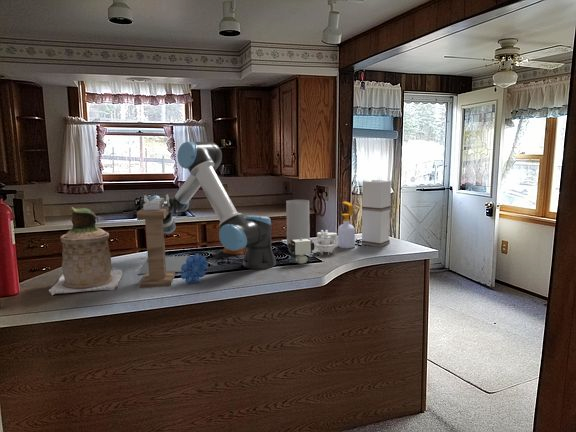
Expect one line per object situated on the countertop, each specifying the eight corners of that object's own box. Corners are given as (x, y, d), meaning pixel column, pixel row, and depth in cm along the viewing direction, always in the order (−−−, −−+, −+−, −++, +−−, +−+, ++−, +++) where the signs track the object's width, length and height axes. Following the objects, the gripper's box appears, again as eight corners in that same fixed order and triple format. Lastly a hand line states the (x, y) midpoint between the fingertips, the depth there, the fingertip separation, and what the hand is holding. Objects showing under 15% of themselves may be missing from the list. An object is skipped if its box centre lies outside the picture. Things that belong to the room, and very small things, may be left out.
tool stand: (170, 285, 168) (166, 211, 163) (139, 287, 166) (133, 212, 161) (175, 274, 183) (171, 205, 179) (146, 275, 182) (141, 207, 177)
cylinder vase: (282, 246, 231) (281, 201, 227) (295, 242, 241) (294, 199, 237) (301, 249, 224) (301, 203, 220) (313, 245, 234) (313, 200, 230)
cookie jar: (118, 290, 164) (111, 208, 159) (47, 297, 157) (38, 212, 152) (123, 272, 187) (117, 201, 182) (62, 278, 180) (54, 204, 175)
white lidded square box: (389, 243, 235) (390, 180, 229) (380, 246, 227) (381, 182, 221) (371, 240, 242) (372, 180, 236) (361, 244, 234) (362, 181, 229)
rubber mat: (184, 272, 186) (184, 271, 186) (137, 275, 183) (137, 273, 183) (189, 256, 213) (189, 255, 213) (148, 258, 210) (148, 257, 210)
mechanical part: (313, 255, 210) (313, 232, 208) (316, 250, 222) (315, 228, 220) (336, 256, 208) (336, 233, 206) (337, 250, 220) (337, 228, 218)
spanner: (159, 210, 166) (159, 204, 166) (143, 210, 165) (143, 204, 165) (166, 203, 188) (166, 197, 188) (152, 203, 187) (152, 198, 187)
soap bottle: (342, 244, 235) (343, 200, 231) (357, 245, 230) (358, 201, 226) (334, 247, 228) (334, 202, 224) (349, 249, 223) (350, 203, 219)
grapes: (204, 277, 178) (203, 249, 176) (211, 281, 172) (209, 253, 170) (177, 282, 171) (176, 254, 169) (183, 287, 166) (182, 257, 164)
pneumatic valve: (314, 262, 198) (314, 237, 196) (291, 265, 194) (290, 239, 192) (310, 259, 203) (310, 235, 201) (287, 262, 199) (287, 237, 197)
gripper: (186, 223, 199) (181, 204, 178) (140, 225, 196) (129, 206, 175) (186, 208, 202) (181, 188, 181) (141, 210, 199) (130, 190, 178)
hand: (156, 197), depth 178 cm, fingers open, 8 cm apart
